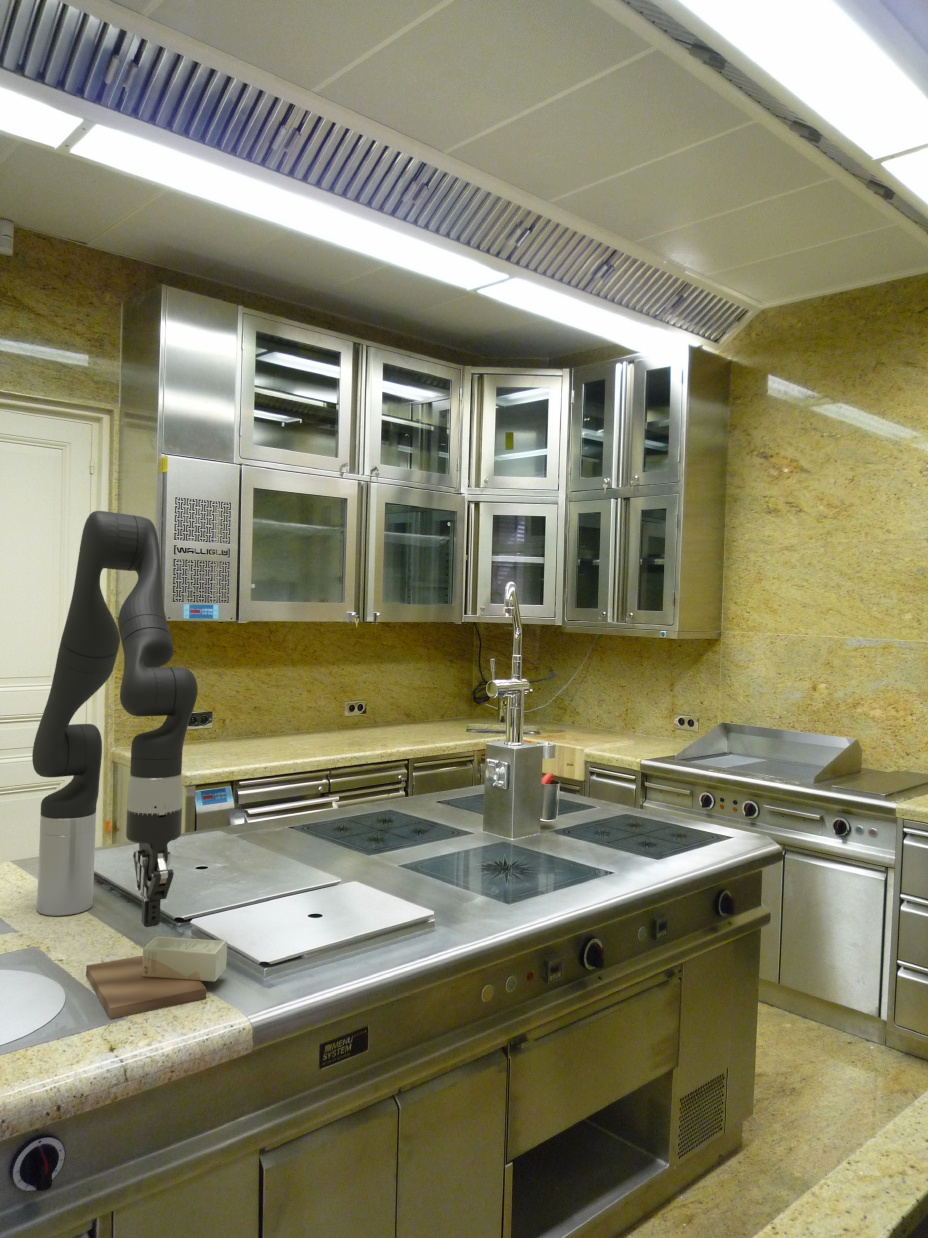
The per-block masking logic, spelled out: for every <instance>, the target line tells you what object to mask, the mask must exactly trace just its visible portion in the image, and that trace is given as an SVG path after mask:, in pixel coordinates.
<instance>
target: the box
mask: <svg viewBox="0 0 928 1238" xmlns="http://www.w3.org/2000/svg"><path fill="white" fill-rule="evenodd" d="M227 953H228V941H227V940H217V939H216V940H215V939H213V940H212V939H200V938H187V937H185V938H184V937H172V936H171V937H170V936H155V937H154V938H152V939H151V941H149V942H148V943H147V944H146V945H145V946H144V947H143V949H142V955H143V963H142V976H143V977H158V978H172V979H186V980H200V981H201V982H202V981H203V982H216V981H217V980H218V979H219V977H220V976H221V975H222V974H223V972H225V970H226V969H227V960H228V959H227V957H228V956H227V955H228V954H227Z"/></svg>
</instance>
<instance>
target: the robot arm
mask: <svg viewBox="0 0 928 1238" xmlns="http://www.w3.org/2000/svg"><path fill="white" fill-rule="evenodd" d="M161 566H162V565H161V552H160V544H159V537H158V532H157V528H156V526H155V524H154V523H153V521H152V520H151V519H150V518H148V517H147V518H146V517H143V516H141V515H140V516H139V515H135V514H134V515H133V514H127V513H120V512H113V511H104V510H102V511H101V510H94V511H92V512H91V513H90V514H89V515H88V517H87V518H86V520H85V523H84V525H83V529H82V534H81V539H80V545H79V552H78V559H77V565H76V571H75V572H76V573H75V580H74V583H73V584H74V586H73V591H72V596H71V599H70V600H71V601H70V604H69V608H68V612H67V616H66V621H65V624H64V629H63V631H62V635H61V638H60V639H61V640H60V643H59V647H58V652H57V657H56V662H55V668H54V672H53V677H52V681H51V685H50V689H49V690H50V691H49V694H48V699H47V701H46V704H45V707H44V710H43V713H42V715H41V719H40V721H39V724H38V728H37V731H36V735H35V738H34V741H33V747H32V755H31V756H32V758H31V759H32V761H31V762H32V765H33V766H32V767H33V770H34V771H35V773H36V774H37V775H38V776H40V777H43V778H63V777H71V776H73V777H72V778H71V780H70V782H68V783H67V784H66V785H65V786H63V787H62V788H59V790H57V791H55V792H52V793H50V794H48V795H46V796H45V797H44V798H43V799H42V800H41V803H40V820H39V849H38V850H39V853H38V875H37V893H36V894H37V895H36V896H37V897H36V898H37V899H36V912H38V913H39V914H42V915H46V916H70V915H74V914H80V913H83V912H85V911H87V910H89V909H91V908H92V907H93V901H94V900H93V899H94V883H95V882H94V877H95V857H96V855H95V853H96V852H95V850H96V829H97V828H96V824H97V823H96V822H97V803H98V798H99V792H100V778H101V777H100V776H101V768H102V757H103V756H102V755H103V741H102V735H101V732H100V730H99V728H98V726H96V724H92V723H77V724H70V722H71V721H72V719H73V717H74V715H75V714H76V712H77V711H79V709H80V708H81V707H82V706H83V705H84V704H85V703H86V702H87V701H88V700H89V699H90V698H91V697H92V696H93V695H94V694H95V693H97V692H98V691H99V690H100V689H101V687H103V685H104V684H105V683H106V682H107V681H108V679H110V677H111V675H112V673H113V671H114V668H115V665H116V661H117V656H118V652H119V650H120V644H121V646H122V649H123V657H124V658H123V659H124V660H123V661H124V662H123V663H124V664H123V665H124V666H123V672H122V673H123V674H122V678H121V682H120V689H119V701H120V704H121V707H122V708H123V709H124V711H125V712H126V713H128V714H129V715H131V716H133V717H137V718H139V717H163V716H164V717H166V718H165V720H164V722H163V723H162V724H161V725H160V726H159V727H158V728H156V729H153V730H150V731H145V732H141V733H139V734H136V735H135V736H134V737H133V739H132V741H131V746H130V748H131V749H130V771H129V772H130V773H129V774H130V775H129V782H128V787H127V801H126V802H127V803H126V805H127V806H126V831H125V837H126V839H127V840H128V841H130V842H132V843H135V844H138V850H136V851H134V852H133V855H132V857H133V862H134V864H133V865H134V870H135V877H136V878H135V879H136V888H137V890H138V891H140V892H139V896H140V899H141V920H140V921H141V923H142V925H143V926H144V927H145V928H152V927H157V926H159V925H160V921H161V901H163V900H164V899H165V900H166V899H167V897H168V894H169V891H170V888H171V885H172V881H173V878H174V874H175V873H174V869H171V868H170V869H169V866H170V864H171V852H170V851H169V850H168V844H169V843H170V842H171V841H175V840H177V839H178V838H180V837H181V835H182V822H183V821H182V820H183V816H182V815H183V790H184V789H183V776H182V774H183V773H182V771H183V770H182V769H183V768H182V767H183V751H184V750H183V748H184V742H185V737H186V734H187V729H188V727H189V722H190V720H191V717H192V714H193V711H194V708H195V706H196V703H197V698H198V695H199V694H198V693H199V692H198V691H199V690H198V688H199V687H198V682H197V678H196V677H195V675H194V673H193V672H192V671H191V670H190V669H188V668H186V667H182V666H170V667H168V666H165V665H167V664H168V663H169V662H170V661H171V659H172V658H173V656H174V649H175V648H174V642H173V639H172V636H171V631H170V626H169V624H168V620H167V616H166V612H165V606H164V597H163V583H162V581H163V580H162V578H163V577H162V567H161ZM104 569H107V570H116V571H117V570H118V571H127V572H135V573H136V574H137V581H136V583H135V585H134V587H133V589H132V590H131V591H130V592H129V594H128V596H127V597H126V598H125V600H124V602H123V604H122V605H121V607H120V610H119V614H118V618H117V620H118V621H117V623H118V624H117V623H116V621H115V618H114V617H113V615H112V613H111V611H110V609H109V607H108V604H107V603H106V600H105V598H104V594H103V592H102V589H101V574H102V572H103V570H104Z"/></svg>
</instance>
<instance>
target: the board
mask: <svg viewBox="0 0 928 1238" xmlns="http://www.w3.org/2000/svg"><path fill="white" fill-rule="evenodd" d="M142 963H143V954H142V955H138V956H132V957H126V958H121V959H115V960H109V961H103V962H99V963H92V964H87V965H86V966H85V969H86V970H85V977H86V978H87V981H88V982H89V983H90V986H91V987H92V990H93V991H94V992H95V994H96V996H97V998H98V1000H99V1003H100V1004H101V1005H102V1008H103V1010H104V1011H105V1013H106V1014H107V1016H108V1019H110V1020H113V1019H117V1018H122V1017H127V1016H132V1015H136V1014H140V1013H145V1012H149V1011H150V1010H151V1011H155V1010H159V1008H160V1009H164V1008H163V1007H165V1008H169V1007H173V1005H174V1006H177V1005H182V1004H188V1003H192V1002H193V1003H194V1002H196V1001H202V1000H206V999H207V987H206V986H205V985H204V984H203V982H202V981H201V980H186V979H172V978H158V977H143V976H142ZM168 1006H169V1007H168Z"/></svg>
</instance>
